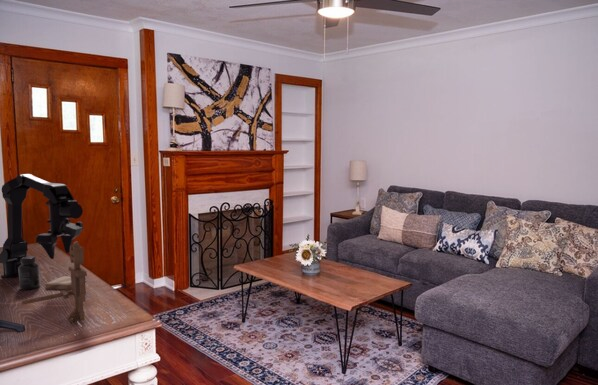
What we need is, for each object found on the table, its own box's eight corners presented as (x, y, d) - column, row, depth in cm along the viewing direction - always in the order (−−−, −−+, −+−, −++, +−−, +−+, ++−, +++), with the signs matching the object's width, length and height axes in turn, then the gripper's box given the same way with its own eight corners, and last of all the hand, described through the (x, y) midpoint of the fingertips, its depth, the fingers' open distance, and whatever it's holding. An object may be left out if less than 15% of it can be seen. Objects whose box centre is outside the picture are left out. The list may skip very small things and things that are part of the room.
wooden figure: (22, 324, 134) (16, 244, 131) (84, 310, 146) (80, 237, 143) (30, 340, 123) (25, 253, 121) (97, 323, 135) (93, 244, 132)
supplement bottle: (44, 286, 171) (42, 256, 169) (27, 291, 165) (25, 260, 163) (32, 283, 174) (30, 254, 172) (15, 288, 167) (13, 258, 166)
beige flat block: (45, 290, 168) (45, 283, 167) (62, 282, 177) (62, 275, 177) (69, 291, 166) (69, 284, 166) (85, 283, 176) (85, 276, 176)
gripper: (62, 221, 159) (64, 263, 161) (91, 213, 177) (93, 250, 179) (33, 220, 160) (36, 261, 162) (66, 212, 179) (67, 249, 180)
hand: (60, 255), depth 171 cm, fingers open, 9 cm apart
